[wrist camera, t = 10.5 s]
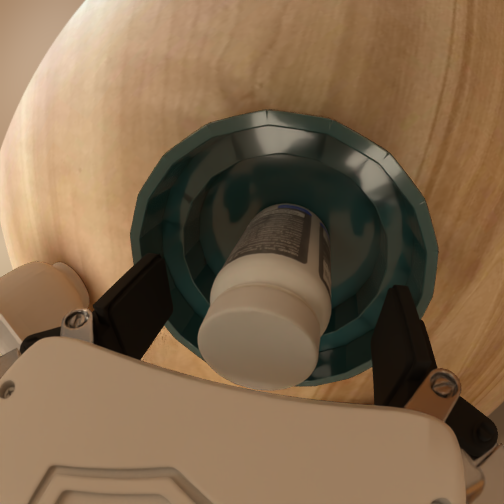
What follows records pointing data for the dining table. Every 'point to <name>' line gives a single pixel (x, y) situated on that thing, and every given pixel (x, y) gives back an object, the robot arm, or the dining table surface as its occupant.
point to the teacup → (37, 300)
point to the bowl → (293, 192)
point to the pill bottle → (270, 301)
